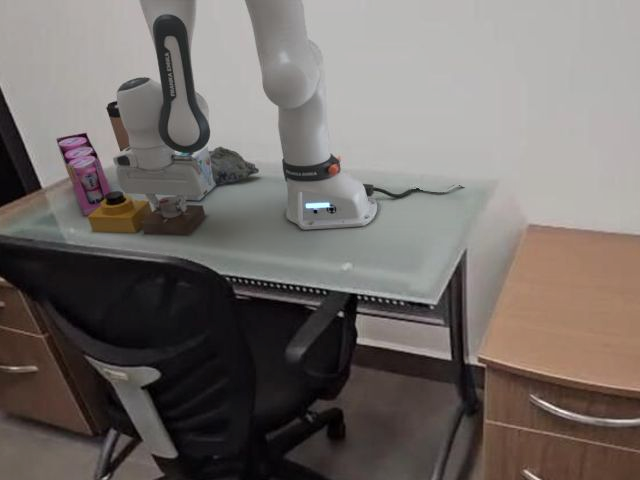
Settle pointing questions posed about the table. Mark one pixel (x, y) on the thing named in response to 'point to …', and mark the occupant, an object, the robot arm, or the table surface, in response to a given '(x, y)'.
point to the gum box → (84, 171)
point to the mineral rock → (229, 166)
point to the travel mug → (118, 126)
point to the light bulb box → (206, 170)
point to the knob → (169, 207)
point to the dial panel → (174, 222)
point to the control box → (120, 216)
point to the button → (115, 198)
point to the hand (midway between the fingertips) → (171, 210)
